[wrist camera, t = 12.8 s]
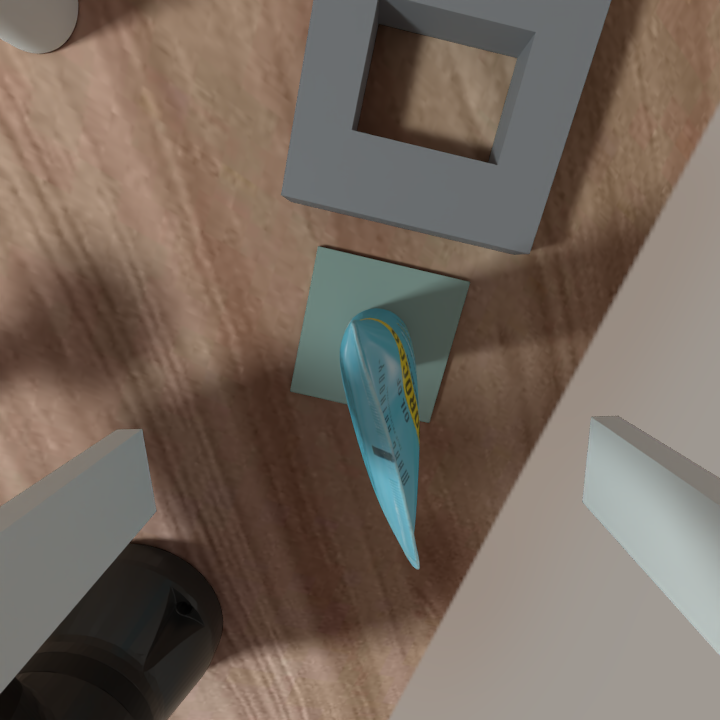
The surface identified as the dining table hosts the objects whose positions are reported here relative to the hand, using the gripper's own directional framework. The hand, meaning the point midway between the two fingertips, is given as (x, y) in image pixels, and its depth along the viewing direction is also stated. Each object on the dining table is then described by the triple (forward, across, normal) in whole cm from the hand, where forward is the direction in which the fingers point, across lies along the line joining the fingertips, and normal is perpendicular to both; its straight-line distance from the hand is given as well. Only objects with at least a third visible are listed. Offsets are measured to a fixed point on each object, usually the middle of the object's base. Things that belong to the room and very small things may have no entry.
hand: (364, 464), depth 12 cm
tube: (+19, +1, 0) cm, 19 cm away
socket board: (+19, +5, +16) cm, 25 cm away
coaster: (+19, +1, 0) cm, 19 cm away
